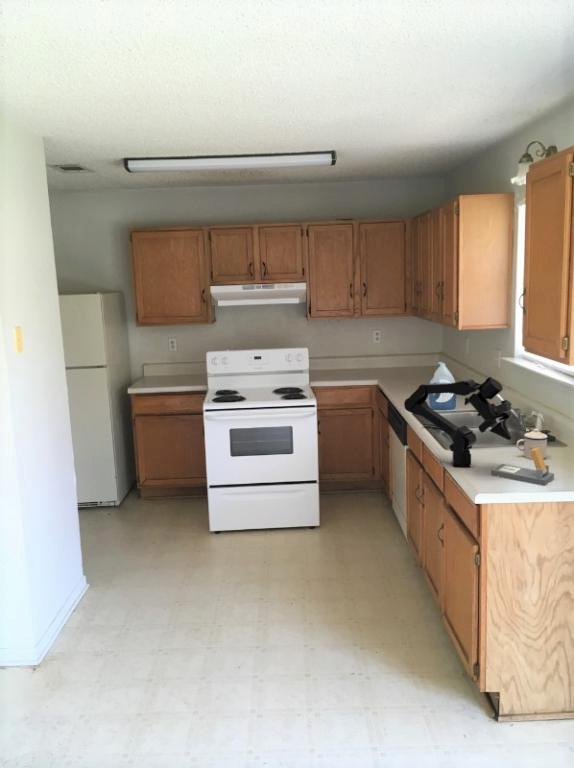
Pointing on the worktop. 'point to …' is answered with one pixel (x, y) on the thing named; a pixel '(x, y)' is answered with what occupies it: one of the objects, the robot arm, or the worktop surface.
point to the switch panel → (523, 474)
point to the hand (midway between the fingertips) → (510, 439)
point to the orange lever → (538, 460)
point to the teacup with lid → (534, 443)
